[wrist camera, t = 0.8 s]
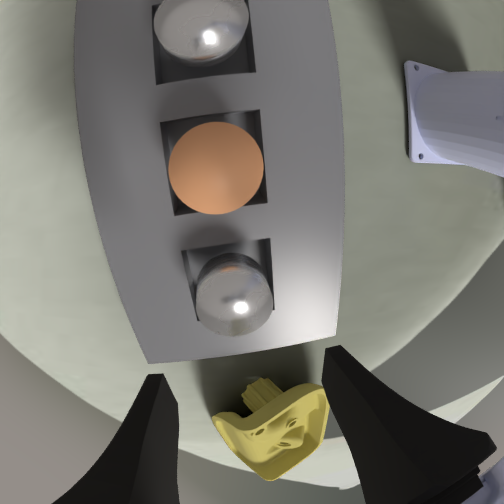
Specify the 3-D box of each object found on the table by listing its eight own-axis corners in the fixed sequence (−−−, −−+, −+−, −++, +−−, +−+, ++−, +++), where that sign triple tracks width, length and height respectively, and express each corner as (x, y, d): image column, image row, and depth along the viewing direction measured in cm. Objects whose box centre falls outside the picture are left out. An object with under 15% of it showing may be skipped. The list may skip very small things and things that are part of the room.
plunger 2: (262, 247, 16) (271, 267, 14) (267, 305, 18) (274, 330, 15) (191, 258, 15) (189, 280, 13) (203, 315, 17) (204, 340, 15)
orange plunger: (251, 119, 13) (259, 117, 11) (258, 195, 15) (267, 208, 12) (170, 129, 12) (162, 129, 10) (181, 206, 14) (176, 220, 12)
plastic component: (321, 446, 31) (262, 488, 26) (287, 414, 36) (231, 451, 32) (336, 369, 21) (232, 442, 16) (279, 324, 26) (186, 378, 22)
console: (303, -23, 11) (318, -42, 9) (322, 312, 22) (335, 335, 20) (94, 2, 10) (78, -14, 7) (153, 337, 21) (148, 363, 18)
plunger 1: (239, 0, 10) (244, -20, 8) (245, 63, 12) (252, 51, 9) (160, 9, 9) (152, -9, 7) (164, 73, 11) (155, 63, 9)
